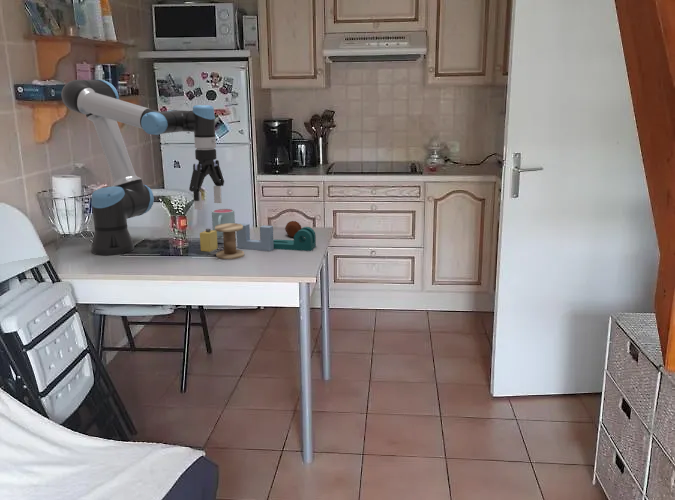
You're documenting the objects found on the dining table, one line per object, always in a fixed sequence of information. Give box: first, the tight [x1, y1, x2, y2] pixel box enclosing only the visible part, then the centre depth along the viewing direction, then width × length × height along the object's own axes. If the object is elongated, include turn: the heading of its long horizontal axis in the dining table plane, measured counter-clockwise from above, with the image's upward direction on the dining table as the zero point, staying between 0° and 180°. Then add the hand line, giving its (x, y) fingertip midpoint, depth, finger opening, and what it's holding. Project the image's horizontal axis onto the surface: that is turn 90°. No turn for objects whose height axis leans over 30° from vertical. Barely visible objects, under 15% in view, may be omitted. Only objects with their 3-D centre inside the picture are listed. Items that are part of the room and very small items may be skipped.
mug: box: [211, 208, 236, 238], centre depth 259 cm, size 14×9×10 cm
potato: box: [284, 220, 303, 238], centre depth 258 cm, size 7×9×6 cm
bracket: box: [273, 226, 317, 252], centre depth 240 cm, size 18×7×8 cm, turn 77°
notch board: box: [236, 223, 275, 252], centre depth 238 cm, size 14×3×9 cm, turn 69°
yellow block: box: [199, 228, 218, 253], centre depth 237 cm, size 4×6×8 cm
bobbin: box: [215, 222, 245, 260], centre depth 228 cm, size 10×10×11 cm
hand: (208, 206), depth 234 cm, fingers open, 13 cm apart
